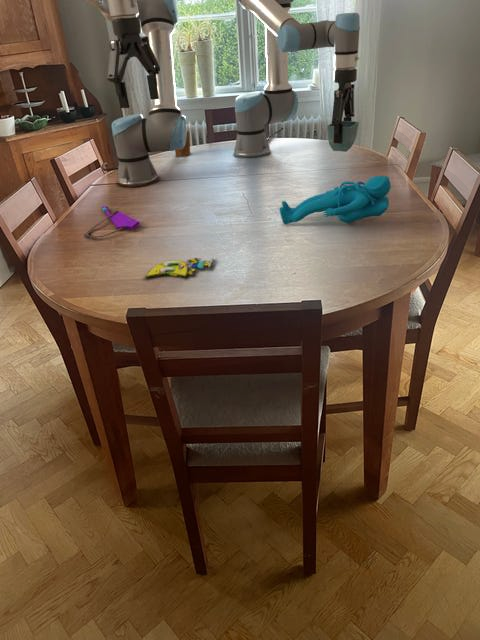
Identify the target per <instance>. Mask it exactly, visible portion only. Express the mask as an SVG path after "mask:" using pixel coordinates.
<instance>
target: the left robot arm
mask: <svg viewBox="0 0 480 640" xmlns="http://www.w3.org/2000/svg"><path fill="white" fill-rule="evenodd" d="M85 1H86V2H87V3H89V4H90V5H92V6H93V7H95V9H97V10H99V11H100V13H101V14H102V16H103V17H104V18H105V19H106V20H108V21H110V22H111V25H112V30H113V34H114V36H116V38H117V39H116V40H115V39H114V40H109V41H108V44H109V57H108V68H107V76H106V77H107V78H106V79H107V81H108V82H111V83H113V84H114V87H115V94H116V96H117V98H118V103H119V108H120V109H130V103H129V98H128V97H129V96H128V92H127V86H126V82H125V81H123V79H124V76H125V72H126V69H127V66H128V61H129V60H130V59H131V58H136V59H137V60H138V62H139V63H140V65H141V66H142V67H143V68H144V69H145V71H146V72H147V75H146V81H147V87H148V93H149V98H150V100H151V103H152V107H151V108H150V110H149V111H148V117H146V118H145V117H144V116H143V114H142V113H134V114H129V115H125V116H122V117H119V118H116V119H115V120H113V121H112V122H111V131H112V138H113V142H114V146H115V151H116V156H117V160H118V166H116V167H110V168H105V167H107V166H109V165H108V163H107V162H103V163H102V165H101V170H102V171H104V172H111V171H117V179H116V180H117V183H118V186H120V187H123V188H124V187H125V188H136V187H137V188H138V187H145V186H147V185H148V186H149V185H151V184H154V183H156V182H157V181H158V180H159V176H158V172H157V169H156V168H155V166H154V163H153V161H152V159H151V156H150V153H159V152H175V150H181V149H183V148H184V146H185V143H186V137H187V125H186V124H187V117H186V116H185V115H184V114H182V110H181V109H180V108H179V107H178V106H177V95H176V82H175V81H176V80H175V70H174V68H175V67H174V58H173V57H174V56H173V43H172V35H173V34H174V33H175V31H176V28H175V26H177V25H178V24H179V23H180V20H179V19H180V18H179V14H178V8H177V5H176V4H177V3H176V0H85ZM140 34H144V35H145V36H141V35H140Z"/></svg>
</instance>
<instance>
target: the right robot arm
mask: <svg viewBox="0 0 480 640" xmlns="http://www.w3.org/2000/svg"><path fill="white" fill-rule="evenodd" d="M237 1H238V3H239V5H241V7H242V8H243V9H244V10H245V11H247V12H252V14H253V15H255V17H256V18H257V19H259V20H260V21H261V22H262V24H264V34H265V36H264V37H265V58H266V59H265V60H266V62H265V63H266V82H267V84H266V85H265V86H264V88H263V91H259V90H258V91H252V92H251V91H250V92H245V93H243V94H240V95H239V96H237V97H236V98H235V99H234V100H235V101H234V113H235V124H236V125H235V126H236V139H235V144H234V149H233V153H234V154H233V155H234V156H236V157H239V158H258V157H262V156H267V155H268V154H270V151H271V148H270V144H269V141H270V138H271V137H272V136H274V135H276V134H278V133H280V132H281V131H282V130H284V128H283V127H282V126H281V127H280V128H279V129H278V130H276V131H274V132H272V133H271V134H270V135H269V136H267V135H266V133H265V126H267V125H272V124H277V123H284V122H287V121H291V120H292V119H294V117H295V116H296V114H297V111H298V108H299V99H298V97H297V93H296V92H295V90H294V89H293V86H292V85H291V84H290V82H289V53H294V52H299V51H308V50H315V49H322V48H334V55H333V68H334V70H333V82H334V83H335V84H338V85H337V89H336V90H334V91H333V106H332V116H331V123H332V124H334V143H339V144H341V143H342V127H343V123H342V121H352V118H354V117H355V82H356V81H357V77H358V69H357V67H358V61H359V60H360V56H358V55H359V44H360V29H361V24H360V23H361V21H360V20H361V19H360V18H361V17H360V14H359V13H358V12H343V13H337V14H336V16H335V20H327V19H325V20H320V21H315V22H305V23H301V22H299V21H298V20H297V19H296V18H295V17H293V15H291V14H290V13H289V11H290V10H291V9H292V5H291V3H292V2H294V1H295V0H237ZM343 116H344V117H343Z"/></svg>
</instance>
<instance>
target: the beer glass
mask: <svg viewBox="0 0 480 640" xmlns="http://www.w3.org/2000/svg"><path fill="white" fill-rule="evenodd" d="M186 125H187V137H186V143H185V146H184V148H183V149H181V150H174V152H175V156H176V157H186V156H189V155H190V154H191V126H190V124H188V123H186Z"/></svg>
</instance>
